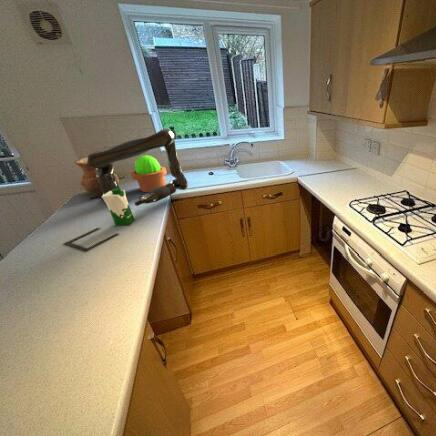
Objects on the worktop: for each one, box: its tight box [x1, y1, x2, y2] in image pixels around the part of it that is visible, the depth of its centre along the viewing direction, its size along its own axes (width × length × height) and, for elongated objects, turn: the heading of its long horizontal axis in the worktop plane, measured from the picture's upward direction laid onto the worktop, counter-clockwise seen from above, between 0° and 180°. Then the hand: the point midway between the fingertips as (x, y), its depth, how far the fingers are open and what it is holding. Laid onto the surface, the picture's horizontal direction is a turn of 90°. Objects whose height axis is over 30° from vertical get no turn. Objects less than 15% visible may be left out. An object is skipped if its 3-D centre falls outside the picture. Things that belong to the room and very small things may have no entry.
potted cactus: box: [130, 155, 167, 193], centre depth 175 cm, size 22×22×25 cm
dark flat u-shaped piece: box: [63, 227, 119, 252], centre depth 120 cm, size 17×16×1 cm
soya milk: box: [100, 187, 136, 227], centre depth 129 cm, size 9×9×20 cm
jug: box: [74, 156, 120, 197], centre depth 170 cm, size 22×21×25 cm
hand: (135, 204), depth 138 cm, fingers closed
